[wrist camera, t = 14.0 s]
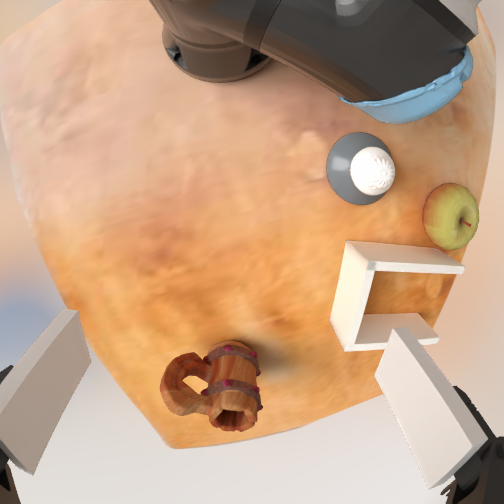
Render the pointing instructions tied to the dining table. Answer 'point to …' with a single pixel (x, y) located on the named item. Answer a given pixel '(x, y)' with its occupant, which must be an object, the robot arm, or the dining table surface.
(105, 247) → the dining table surface
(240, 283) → the dining table surface
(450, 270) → the cubby
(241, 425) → the mug
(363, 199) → the coaster
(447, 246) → the apple
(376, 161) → the white rounded ribbed piece
